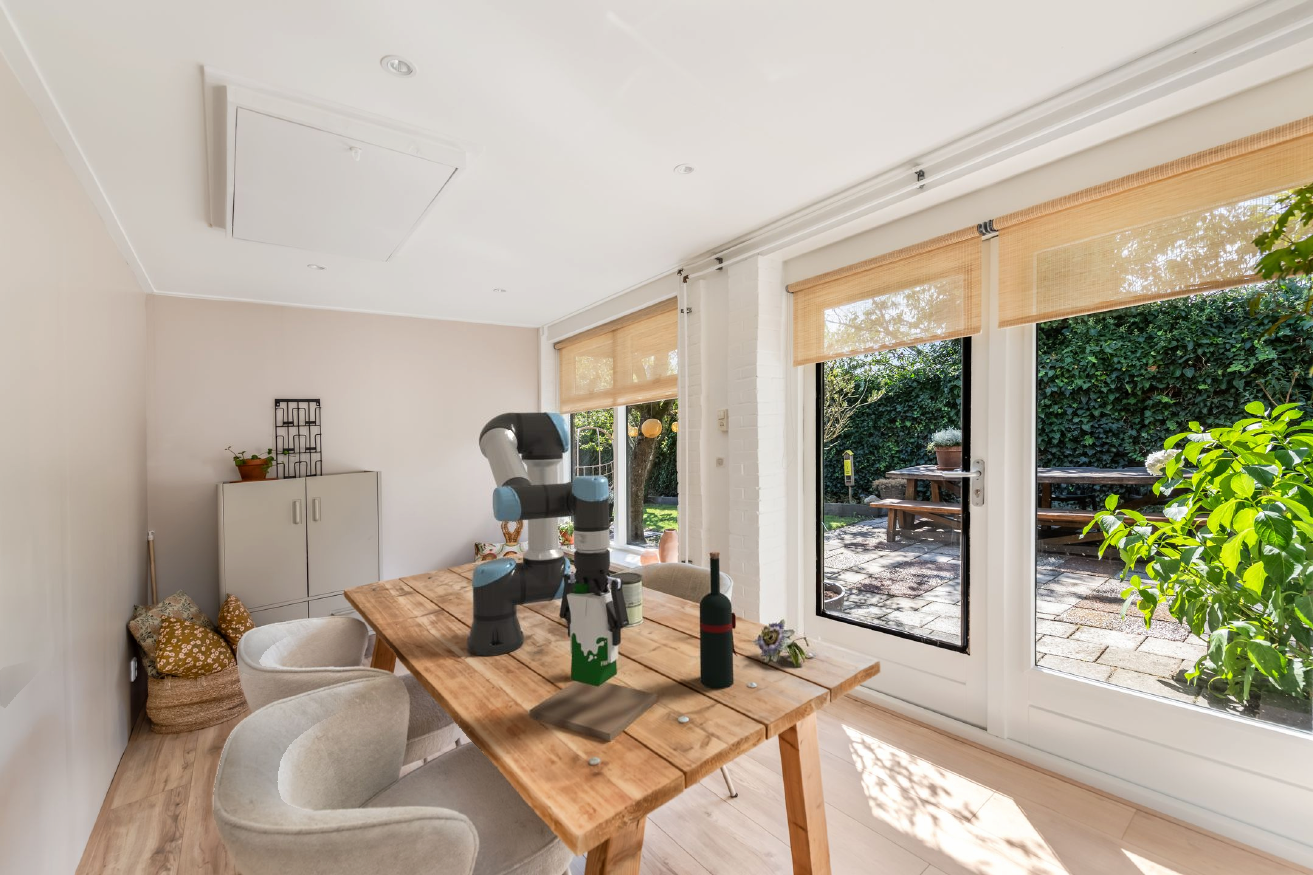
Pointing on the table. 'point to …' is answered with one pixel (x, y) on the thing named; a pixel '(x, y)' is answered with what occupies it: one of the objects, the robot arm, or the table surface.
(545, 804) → the table surface
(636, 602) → the coffee can
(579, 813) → the table surface
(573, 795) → the table surface
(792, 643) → the passion flower
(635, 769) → the table surface
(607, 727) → the walnut board
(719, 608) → the wine bottle
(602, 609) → the soya milk
